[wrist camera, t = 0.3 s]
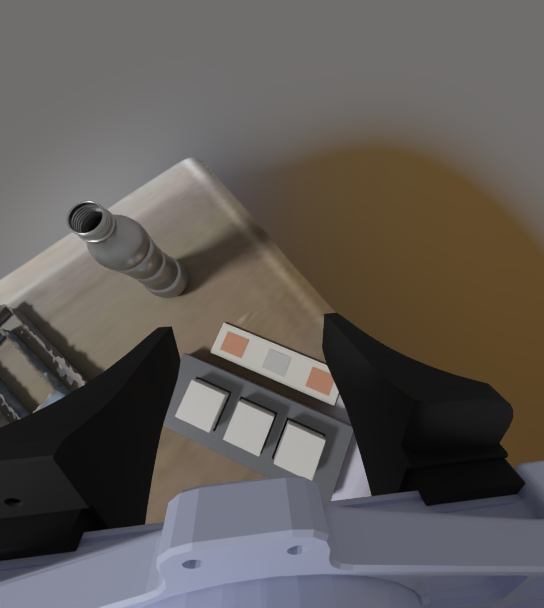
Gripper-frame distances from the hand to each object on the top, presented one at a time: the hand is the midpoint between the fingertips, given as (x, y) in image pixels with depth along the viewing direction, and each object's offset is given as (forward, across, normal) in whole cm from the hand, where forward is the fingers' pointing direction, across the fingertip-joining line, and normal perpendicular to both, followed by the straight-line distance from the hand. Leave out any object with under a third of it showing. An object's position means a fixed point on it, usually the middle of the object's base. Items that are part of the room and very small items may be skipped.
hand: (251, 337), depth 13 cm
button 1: (+12, -5, +27) cm, 30 cm away
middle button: (+15, +1, +25) cm, 29 cm away
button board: (+16, +1, +26) cm, 31 cm away
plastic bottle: (+32, +13, +11) cm, 36 cm away
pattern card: (+21, -3, +20) cm, 29 cm away
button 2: (+17, +8, +23) cm, 30 cm away
